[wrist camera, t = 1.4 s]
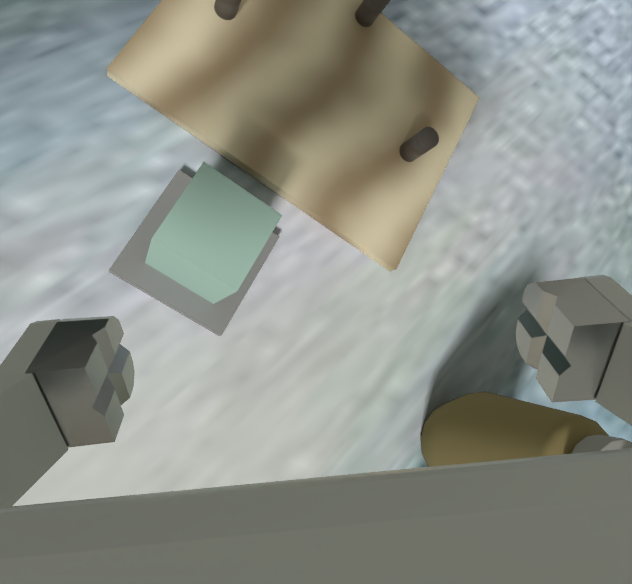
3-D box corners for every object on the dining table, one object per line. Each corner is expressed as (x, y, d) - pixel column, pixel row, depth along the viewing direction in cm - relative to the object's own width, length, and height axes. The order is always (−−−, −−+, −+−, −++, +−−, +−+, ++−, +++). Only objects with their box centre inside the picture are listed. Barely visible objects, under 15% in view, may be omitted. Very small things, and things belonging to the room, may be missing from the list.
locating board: (107, 75, 32) (105, 40, 28) (242, -93, 37) (256, -142, 34) (389, 271, 38) (418, 262, 35) (471, 103, 44) (504, 80, 40)
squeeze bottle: (433, 369, 39) (667, 380, 22) (504, 418, 41) (768, 462, 24) (389, 464, 36) (616, 556, 20) (468, 511, 38) (732, 630, 22)
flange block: (109, 272, 31) (106, 246, 24) (177, 174, 33) (194, 123, 26) (218, 335, 33) (247, 330, 26) (275, 239, 35) (316, 209, 28)
